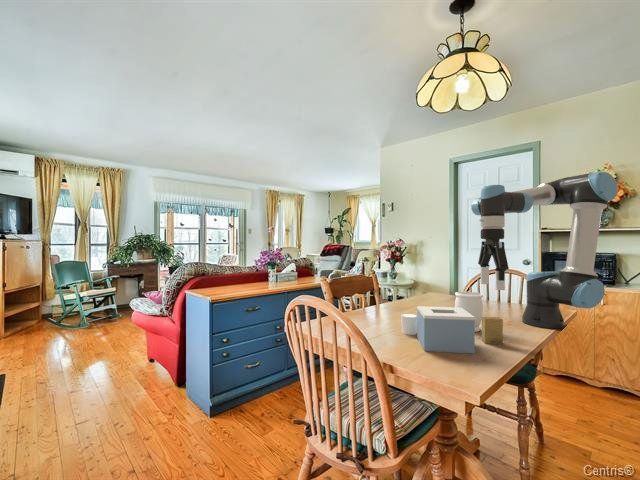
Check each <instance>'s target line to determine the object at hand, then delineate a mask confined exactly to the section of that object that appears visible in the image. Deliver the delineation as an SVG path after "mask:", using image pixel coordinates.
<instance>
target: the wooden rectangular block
mask: <svg viewBox="0 0 640 480" xmlns="http://www.w3.org/2000/svg"><path fill="white" fill-rule="evenodd" d="M503 331H504V320H503V318H501V317H499V316H482V320H481V342H482V343H484V344H485V345H503V344H504V337H503V335H504V332H503Z"/></svg>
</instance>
